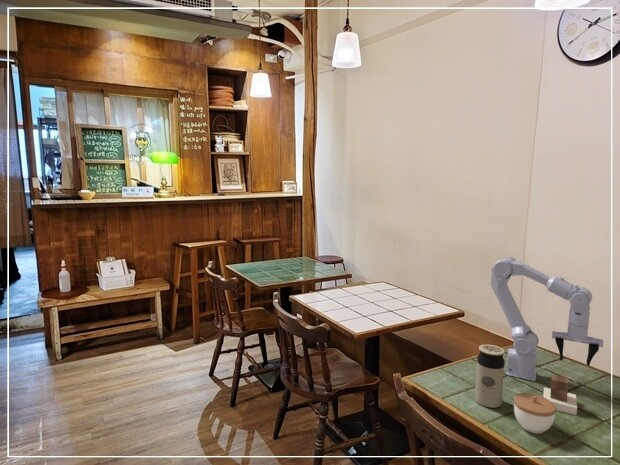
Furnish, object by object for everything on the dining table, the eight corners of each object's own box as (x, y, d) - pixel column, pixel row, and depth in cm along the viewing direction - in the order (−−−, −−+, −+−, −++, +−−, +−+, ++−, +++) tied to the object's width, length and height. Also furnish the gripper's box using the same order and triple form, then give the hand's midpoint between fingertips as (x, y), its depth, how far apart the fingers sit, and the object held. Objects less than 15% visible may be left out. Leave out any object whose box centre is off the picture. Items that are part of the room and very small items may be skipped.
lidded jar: (553, 443, 111) (556, 411, 110) (510, 430, 117) (512, 400, 115) (554, 423, 120) (556, 394, 119) (513, 412, 126) (516, 384, 124)
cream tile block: (542, 408, 129) (543, 399, 129) (543, 395, 137) (544, 387, 136) (576, 417, 125) (577, 408, 124) (574, 403, 132) (575, 394, 132)
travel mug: (480, 392, 137) (484, 342, 135) (505, 401, 132) (509, 349, 129) (470, 401, 132) (474, 348, 129) (495, 411, 126) (499, 356, 124)
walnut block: (550, 397, 130) (551, 379, 129) (551, 391, 133) (552, 374, 133) (566, 401, 127) (568, 383, 127) (567, 395, 131) (568, 378, 130)
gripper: (553, 323, 137) (550, 361, 139) (606, 331, 130) (601, 371, 132) (553, 317, 143) (549, 353, 145) (603, 325, 136) (599, 363, 138)
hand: (574, 361), depth 139 cm, fingers open, 7 cm apart
